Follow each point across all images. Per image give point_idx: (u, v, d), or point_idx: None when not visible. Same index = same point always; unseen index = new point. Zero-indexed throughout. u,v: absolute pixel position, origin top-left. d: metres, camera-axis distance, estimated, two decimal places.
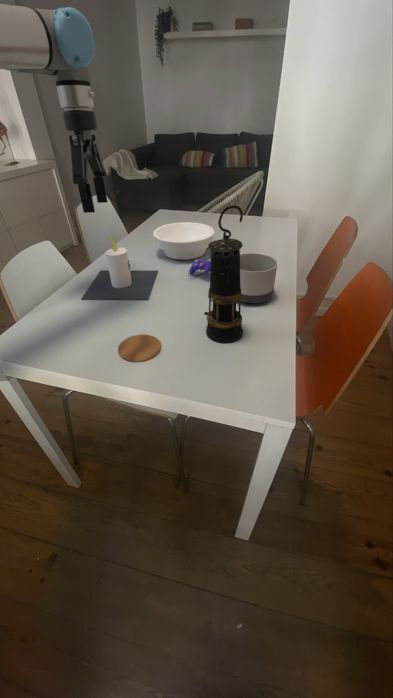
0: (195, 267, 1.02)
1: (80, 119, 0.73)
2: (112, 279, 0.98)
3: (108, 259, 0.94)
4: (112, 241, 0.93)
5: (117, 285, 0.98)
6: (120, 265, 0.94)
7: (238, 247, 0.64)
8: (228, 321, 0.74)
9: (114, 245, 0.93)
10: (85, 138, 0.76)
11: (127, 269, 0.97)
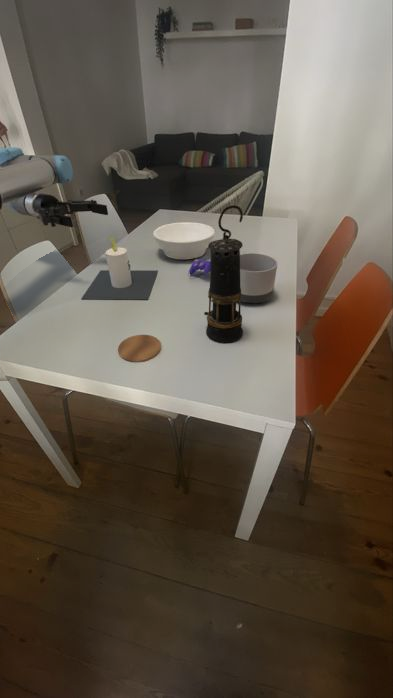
0: (195, 267, 1.02)
1: None
2: (112, 279, 0.98)
3: (108, 259, 0.94)
4: (112, 241, 0.93)
5: (117, 285, 0.98)
6: (120, 265, 0.94)
7: (238, 247, 0.64)
8: (228, 321, 0.74)
9: (114, 245, 0.93)
10: None
11: (127, 269, 0.97)
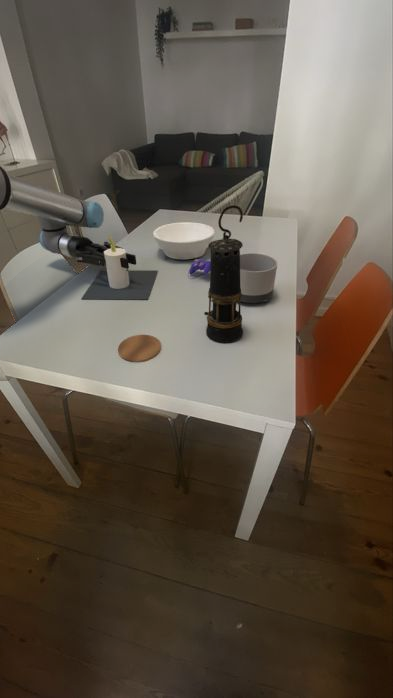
0: (195, 267, 1.02)
1: None
2: (109, 279, 0.97)
3: (106, 259, 0.93)
4: (111, 241, 0.92)
5: (114, 286, 0.97)
6: (118, 266, 0.94)
7: (238, 247, 0.64)
8: (228, 321, 0.74)
9: (113, 245, 0.92)
10: None
11: (125, 270, 0.96)
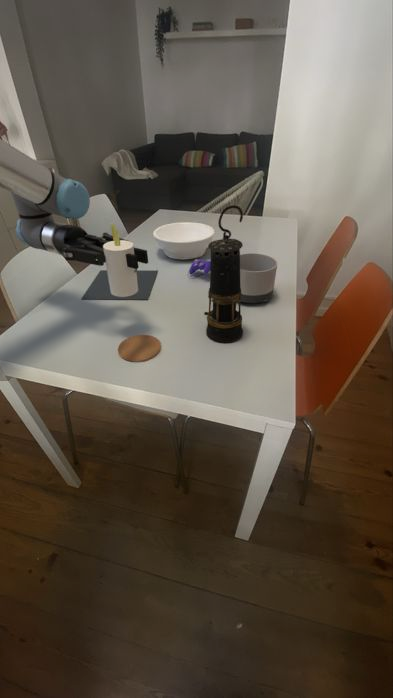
0: (195, 267, 1.02)
1: None
2: (111, 284, 0.70)
3: (106, 255, 0.66)
4: (113, 230, 0.65)
5: (117, 292, 0.70)
6: (122, 266, 0.67)
7: (238, 247, 0.64)
8: (228, 321, 0.74)
9: (116, 236, 0.65)
10: None
11: (132, 271, 0.69)
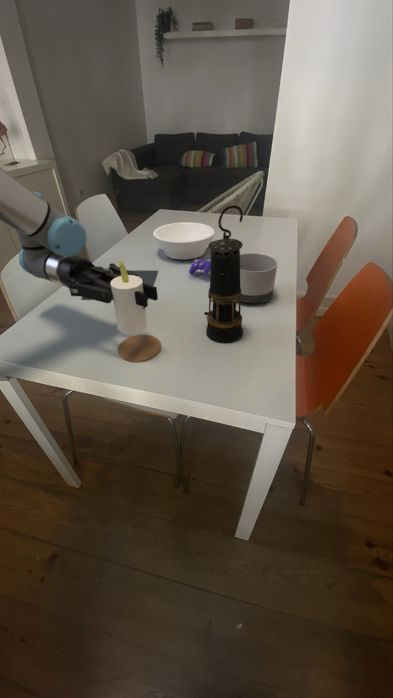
0: (195, 267, 1.02)
1: None
2: (118, 320, 0.67)
3: (113, 293, 0.63)
4: (121, 267, 0.61)
5: (124, 330, 0.67)
6: (130, 304, 0.63)
7: (238, 247, 0.64)
8: (228, 321, 0.74)
9: (124, 273, 0.62)
10: None
11: (141, 308, 0.65)
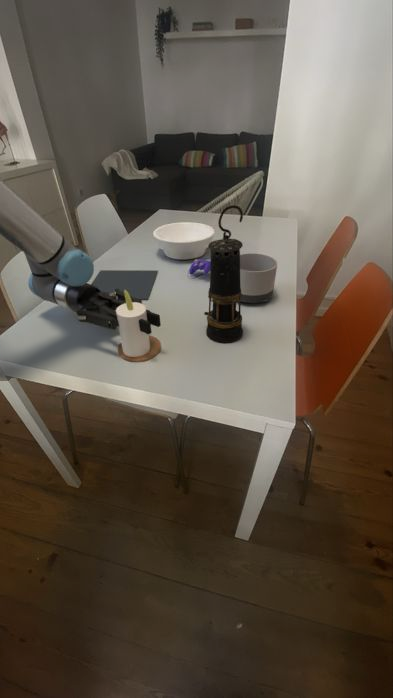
0: (195, 267, 1.02)
1: None
2: (123, 345, 0.71)
3: (119, 320, 0.67)
4: (126, 296, 0.65)
5: (129, 353, 0.71)
6: (135, 330, 0.67)
7: (238, 247, 0.64)
8: (228, 321, 0.74)
9: (129, 302, 0.66)
10: None
11: (144, 334, 0.69)
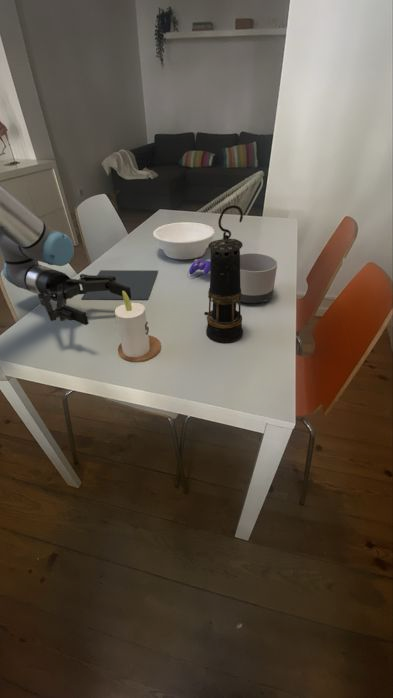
0: (195, 267, 1.02)
1: None
2: (123, 345, 0.71)
3: (118, 321, 0.67)
4: (125, 297, 0.65)
5: (129, 354, 0.71)
6: (134, 331, 0.67)
7: (238, 247, 0.64)
8: (228, 321, 0.74)
9: (127, 302, 0.66)
10: None
11: (144, 334, 0.69)
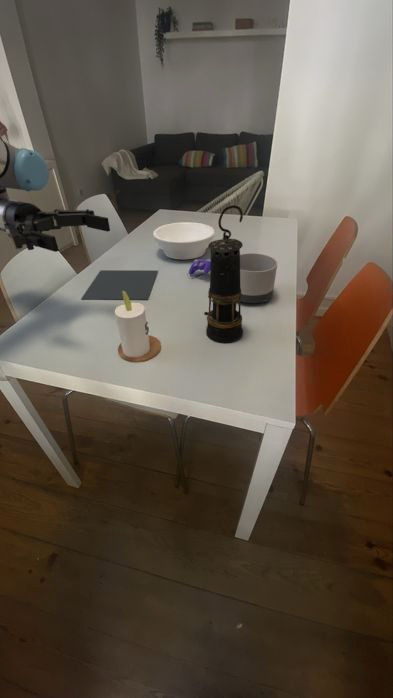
0: (195, 267, 1.02)
1: None
2: (123, 345, 0.71)
3: (118, 321, 0.67)
4: (125, 297, 0.65)
5: (129, 354, 0.71)
6: (134, 331, 0.67)
7: (238, 247, 0.64)
8: (228, 321, 0.74)
9: (127, 302, 0.66)
10: None
11: (144, 334, 0.69)
